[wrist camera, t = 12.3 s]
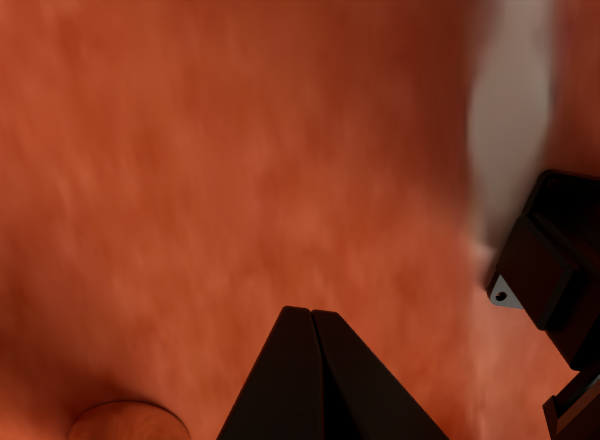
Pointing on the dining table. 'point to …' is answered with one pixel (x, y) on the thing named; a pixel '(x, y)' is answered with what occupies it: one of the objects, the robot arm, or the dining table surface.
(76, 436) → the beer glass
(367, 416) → the robot arm
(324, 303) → the dining table surface
